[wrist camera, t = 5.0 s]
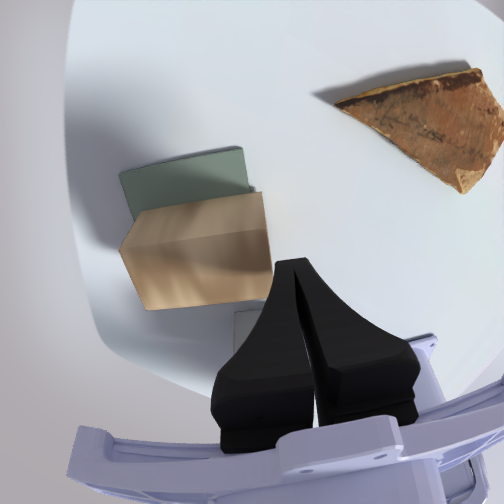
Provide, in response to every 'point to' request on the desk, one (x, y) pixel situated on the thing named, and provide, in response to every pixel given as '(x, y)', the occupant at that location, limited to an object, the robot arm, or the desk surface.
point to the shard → (437, 123)
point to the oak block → (200, 253)
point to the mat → (185, 181)
